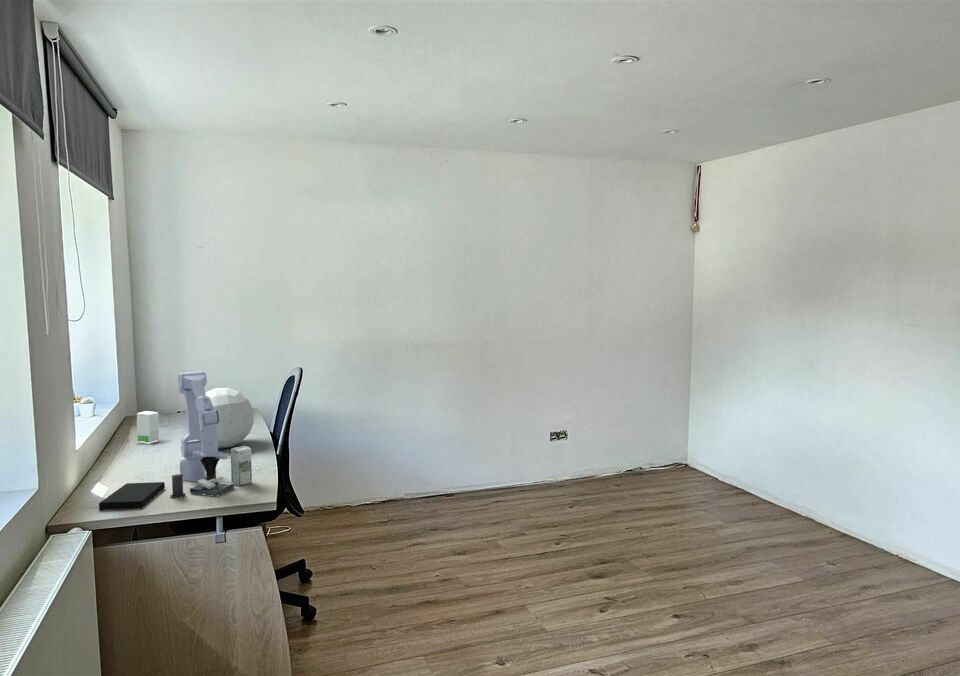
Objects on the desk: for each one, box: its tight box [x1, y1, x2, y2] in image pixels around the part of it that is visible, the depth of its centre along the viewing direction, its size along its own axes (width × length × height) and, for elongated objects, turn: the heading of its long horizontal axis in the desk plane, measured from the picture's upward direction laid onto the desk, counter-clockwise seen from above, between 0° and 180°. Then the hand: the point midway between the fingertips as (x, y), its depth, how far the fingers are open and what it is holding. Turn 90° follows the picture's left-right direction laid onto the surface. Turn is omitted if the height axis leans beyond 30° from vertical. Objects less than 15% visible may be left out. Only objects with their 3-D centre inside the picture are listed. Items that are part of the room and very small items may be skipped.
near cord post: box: [169, 473, 187, 499], centre depth 244 cm, size 5×5×8 cm
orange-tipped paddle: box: [209, 476, 224, 483], centre depth 252 cm, size 6×3×1 cm, turn 73°
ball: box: [197, 387, 255, 449], centre depth 319 cm, size 30×30×30 cm
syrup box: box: [230, 445, 253, 487], centre depth 260 cm, size 6×6×14 cm
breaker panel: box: [189, 481, 235, 497], centre depth 250 cm, size 12×10×3 cm
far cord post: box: [205, 468, 217, 481], centre depth 261 cm, size 5×5×8 cm
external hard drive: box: [98, 481, 166, 511], centre depth 241 cm, size 14×23×3 cm, turn 7°
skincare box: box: [136, 410, 160, 442], centre depth 329 cm, size 8×7×16 cm
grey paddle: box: [196, 478, 216, 489], centre depth 248 cm, size 6×3×1 cm, turn 72°
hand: (210, 476), depth 250 cm, fingers closed
